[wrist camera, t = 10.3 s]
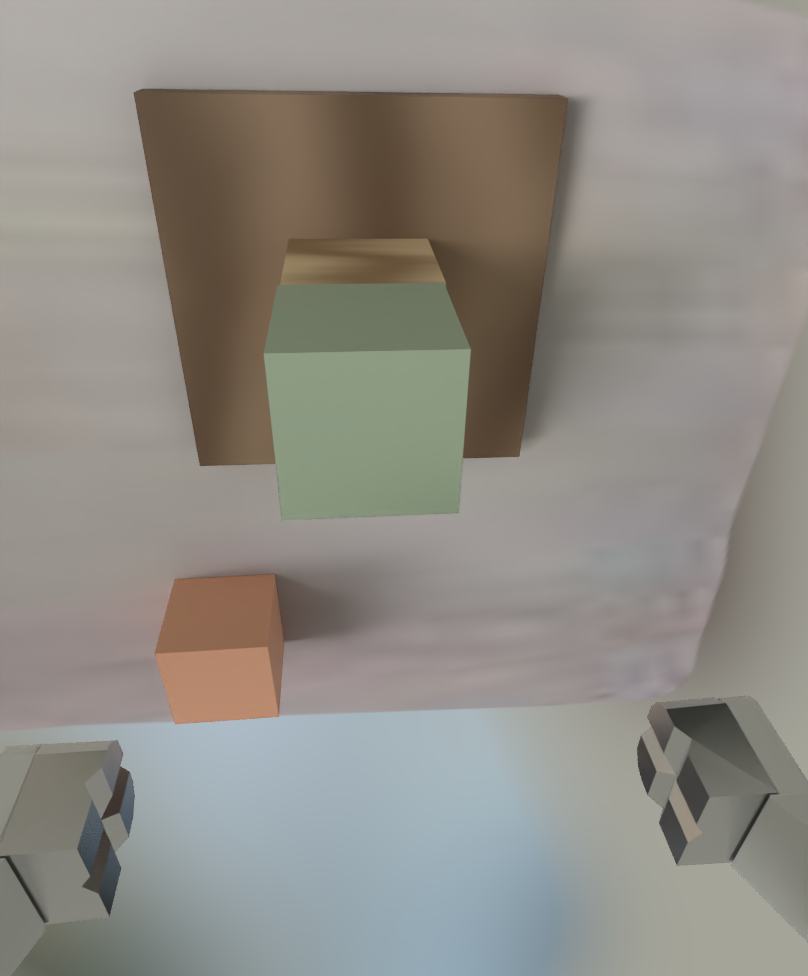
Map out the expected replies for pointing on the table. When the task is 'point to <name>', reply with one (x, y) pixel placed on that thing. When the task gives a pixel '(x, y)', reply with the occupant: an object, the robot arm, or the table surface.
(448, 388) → the sage block
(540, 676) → the table surface
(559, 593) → the table surface
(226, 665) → the terracotta block
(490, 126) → the walnut board
